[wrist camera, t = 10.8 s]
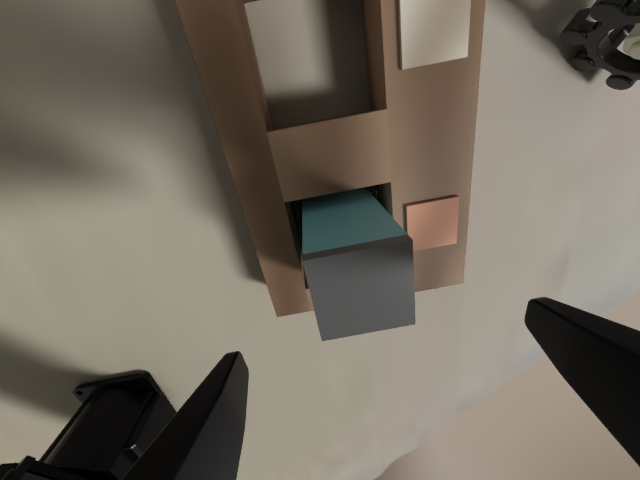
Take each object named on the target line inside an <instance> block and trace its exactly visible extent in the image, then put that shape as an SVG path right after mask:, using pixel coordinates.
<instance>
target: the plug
mask: <svg viewBox="0 0 640 480" xmlns="http://www.w3.org/2000/svg"><path fill="white" fill-rule="evenodd" d="M302 262H303V266H304V270H305V274H306V278H307V282H308V286H309V290H310V294H311V298H312V303H313V307H314V311H315V315H316V319H317V323H318V327H319V331H320V335H321V339H322V341H326V340H331V339H337V338H342V337H348V336H353V335H359V334H364V333H369V332H375V331H380V330H386V329H391V328H397V327H402V326H408V325H413V324H415V296H414V262H413V240H412V238H411V237H410V236H409V235H408V234H407V233H406V232H405V231H404V230H403V229H402V227H401V226H400V225H399V224H398V223H397V222H396V221H395V220H394V219H393V218H392V216H391V215H390V214H389V213H388V212H387V211H386V210H385V209H384V208H383V206H382V205H381V204H380V203H379V202H378V201H377V200H376V199H375V198H374V197H373V195H372V194H371V193H370V192H369V191H368V190H367V189H366V188H365V187H363V188H358V189H352V190H347V191H342V192H337V193H331V194H326V195H321V196H316V197H310V198H305V199H302Z"/></svg>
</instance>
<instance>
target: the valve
mask: <svg viewBox="0 0 640 480" xmlns="http://www.w3.org/2000/svg"><path fill="white" fill-rule="evenodd" d="M589 15H590V16H591V17H592V18H593V19H594V20H596V21H597V22H592V21H589V20H588V17H589ZM612 29H614V30H613V31H612V32H611V33H610V34H609V35H608V33H609V31H610V30H612ZM560 38H561V40H562V41H563V42H564V43H566V44H568V45H580V44H582V46H581V47H580V48H579V50H578V51H577V52H576V54H575V55H574V56H573V57H572V59H571V60H570V65H571V66H572V67H573V68H574V69H576V70H579V71H587V70H590V69H592V68H593V67H600V68H603V69H605V70H607V71H609V72H610V73H612V74H611V75H610V76H609V77H608V78H607V79H606V84H607V85H608V86H609V87H611V88H613V89H618V90H625V89H628V88H630V87H632V85H633V84H634V83H635V82H636V81H637V80H640V0H596V2H595V3H594V4H593V5H592V7H591V8H586V9H582V10H580V11H578V12H577V13H576V14H575V16H574V17H573V18H572V20H571V21H570V22H569V23H568V25H567V26H566V27H565V29H564V30H563V31H562V33H561V36H560ZM624 39H625V41H624V45H623V50H624V52H626V53H627V54H628V55H630V56H628V55H626V54H624V53H622V52H621V51H619V50H618V49H616V48H617V47H618V46H619V45H620V44H621V42H622V41H623V40H624Z"/></svg>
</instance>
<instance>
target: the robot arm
mask: <svg viewBox="0 0 640 480" xmlns="http://www.w3.org/2000/svg"><path fill="white" fill-rule="evenodd" d="M525 324H526V326H527V328H528V330H529V331H530V332H531V334H532V335H533V337H534V338H535V339H536V341H537V342H538V344H539V345H540V346H541V348H542V349H543V351H544V352H545V353H546V355H547V356H548V357H549V359H550V360H551V361H552V363H553V364H554V366H555V367H556V369H557V370H558V371H559V373H560V374H561V375H562V376H563V377H564V379H565V380H566V381H567V382H568V384H569V385H570V386H571V387H572V388H573V390H574V391H575V392H576V393H577V394H578V395H579V396H580V398H581V399H582V400H583V401H584V402H585V403H586V405H587V406H588V407H589V408H590V409H591V411H592V412H593V413H594V414H595V415H596V416H597V418H598V419H599V420H600V421H601V422H602V423H603V424H604V426H605V427H606V428H607V429H608V430H609V432H610V433H611V434H612V435H613V436H614V437H615V439H616V440H617V441H618V442H619V443H620V444H621V446H622V447H623V448H624V449H625V450H626V451H627V453H628V454H629V455H630V456H631V457H632V459H634V461H635V462H636V463H637V464H638V466H639V467H640V331H638V330H635V329H633V328H630V327H627V326H624V325H622V324H619V323H616V322H613V321H611V320H608V319H605V318H602V317H600V316H597V315H594V314H591V313H588V312H586V311H583V310H580V309H577V308H575V307H572V306H569V305H566V304H564V303H561V302H558V301H555V300H553V299H550V298H547V297H540V298H535V299H531V300H530V301H529V302H528V305H527V310H526V314H525ZM248 379H249V372H248V368H247V365H246V363H245V361H244V358H243V356H242V354H241V353H240V352H239V351H236V352H230V353H227V354H225V355H224V356H223V358H222V359H221V360H220V361H219V362H218V364H217V365H216V366H215V367H214V368H213V370H212V371H211V372H210V373H209V375H208V376H207V377H206V378H205V379H204V381H203V382H202V383H201V384H200V385H199V387H198V388H197V389H196V390H195V391H194V393H193V394H192V395H191V396H190V397H189V399H188V400H187V401H186V402H185V403H184V405H183V406H182V407H181V408H180V409H179V411H178V412H177V413H176V412H175V410H174V409H173V407H172V406H171V404H170V403H169V401H168V400H167V399H166V397H165V396H164V394H163V393H162V391H161V390H160V388H159V387H158V385H157V384H156V383H155V381H154V380H153V378H152V377H151V376H150V375H149V374H145V373H144V374H138V375H132V376H126V377H121V378H115V379H110V380H104V381H98V382H93V383H87V384H82V385H78V386H77V387H76V388H75V390H74V391H73V393H74V395H75V396H76V397H77V398H78V399H79V400H80V401H81V402H82V403H83V404H82V405H81V407H80V408H79V409H78V411H77V412H76V413H75V414H74V416H73V417H72V418H71V420H70V421H69V422H68V424H67V425H66V426H65V427H64V429H63V430H62V431H61V433H60V434H59V435H58V437H57V438H56V439H55V440H54V442H53V443H52V444H51V446H50V447H49V448H48V450H47V451H46V452H45V454H44V455H43V456H42V457H41V459H40V460H39V461H36V460H35V459H36V458H34V457H31V456H28V455H27V456H26V457H25V458H24V459H23V460H22V461H21V462H20V463H9V464H1V465H0V480H236V478H237V472H238V466H239V460H240V454H241V449H242V443H243V437H244V430H245V420H246V406H247V393H248Z"/></svg>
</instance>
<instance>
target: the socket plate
mask: <svg viewBox="0 0 640 480" xmlns="http://www.w3.org/2000/svg"><path fill="white" fill-rule="evenodd" d="M253 1H258V0H175V3H176V6H177V9H178V12H179V15H180V18H181V21H182V24H183V28H184V31H185V34H186V37H187V40H188V43H189V46H190V49H191V52H192V55H193V58H194V62H195V65H196V68H197V71H198V74H199V77H200V80H201V83H202V86H203V89H204V92H205V96H206V99H207V102H208V105H209V108H210V111H211V114H212V117H213V120H214V123H215V126H216V130H217V133H218V136H219V139H220V142H221V145H222V148H223V151H224V154H225V157H226V161H227V164H228V167H229V170H230V173H231V176H232V179H233V182H234V185H235V188H236V191H237V195H238V198H239V201H240V204H241V207H242V210H243V213H244V216H245V219H246V222H247V225H248V229H249V232H250V235H251V238H252V241H253V244H254V247H255V250H256V253H257V256H258V259H259V263H260V266H261V269H262V272H263V275H264V278H265V281H266V284H267V287H268V290H269V293H270V297H271V300H272V303H273V306H274V309H275V312H276V315H277V317H280V316H285V315H291V314H296V313H302V312H307V311H313V310H314V307H313V303H312V298H311V294H310V290H309V286H308V282H307V278H306V274H305V270H304V266H303V262H302V249H301V245H300V241H299V236H298V232H297V228H296V224H295V219H294V215H293V211H292V207H291V202H290V201H295V200H300V199H305V198H310V197H316V196H321V195H326V194H331V193H337V192H342V191H347V190H352V189H358V188H363V187H368V186H373V185H377V190H378V202H379V203H380V204H381V205H382V206H383V208H384V209H385V210H386V211H387V212H388V213H389V214H390V215H391V216H392V218H393V219H394V220H395V221H396V222H397V223H398V224H399V225H400V226H401V227H402V229H403V230H404V231H405V232H406V233H407V234H408V235H409V236H410V237H411V238H412V240H413V262H414V292H417V291H423V290H428V289H434V288H439V287H445V286H450V285H456V284H461V283H463V280H464V267H465V254H466V241H467V229H468V216H469V203H470V190H471V177H472V165H473V152H474V139H475V126H476V113H477V101H478V88H479V75H480V62H481V49H482V37H483V24H484V11H485V0H362V5H363V17H364V29H365V42H366V54H367V66H368V79H369V91H370V103H371V111H367V112H362V113H357V114H352V115H347V116H342V117H337V118H332V119H326V120H321V121H316V122H311V123H306V124H301V125H296V126H291V127H286V128H281V129H275V130H273V126H272V121H271V117H270V113H269V109H268V104H267V100H266V96H265V92H264V87H263V83H262V79H261V75H260V70H259V66H258V62H257V58H256V53H255V49H254V45H253V41H252V36H251V32H250V28H249V24H248V19H247V15H246V11H245V7H244V3H248V2H253Z"/></svg>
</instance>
